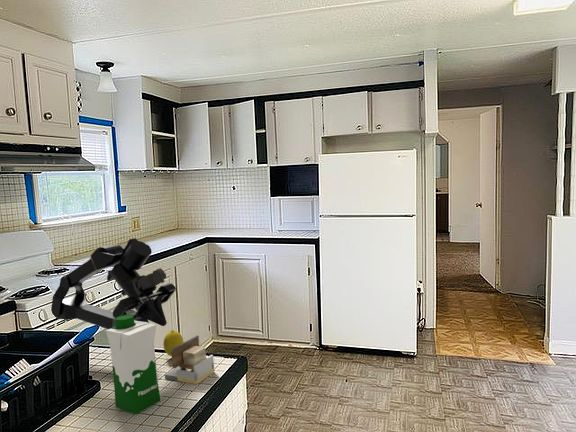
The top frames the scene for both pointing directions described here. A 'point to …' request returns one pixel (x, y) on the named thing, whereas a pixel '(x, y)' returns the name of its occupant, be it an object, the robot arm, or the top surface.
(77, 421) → the top surface
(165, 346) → the lemon
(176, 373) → the dock
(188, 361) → the trolley
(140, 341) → the milk carton
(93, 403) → the top surface
